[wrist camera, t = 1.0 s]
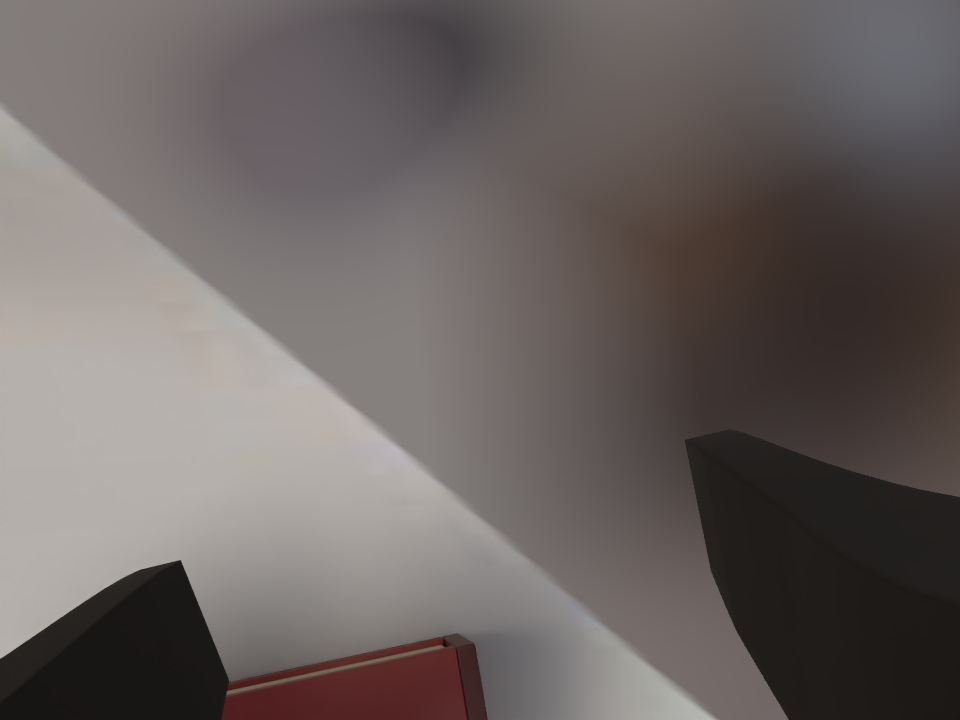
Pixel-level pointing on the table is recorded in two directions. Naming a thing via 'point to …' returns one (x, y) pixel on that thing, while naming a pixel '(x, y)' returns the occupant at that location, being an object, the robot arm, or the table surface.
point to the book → (369, 687)
